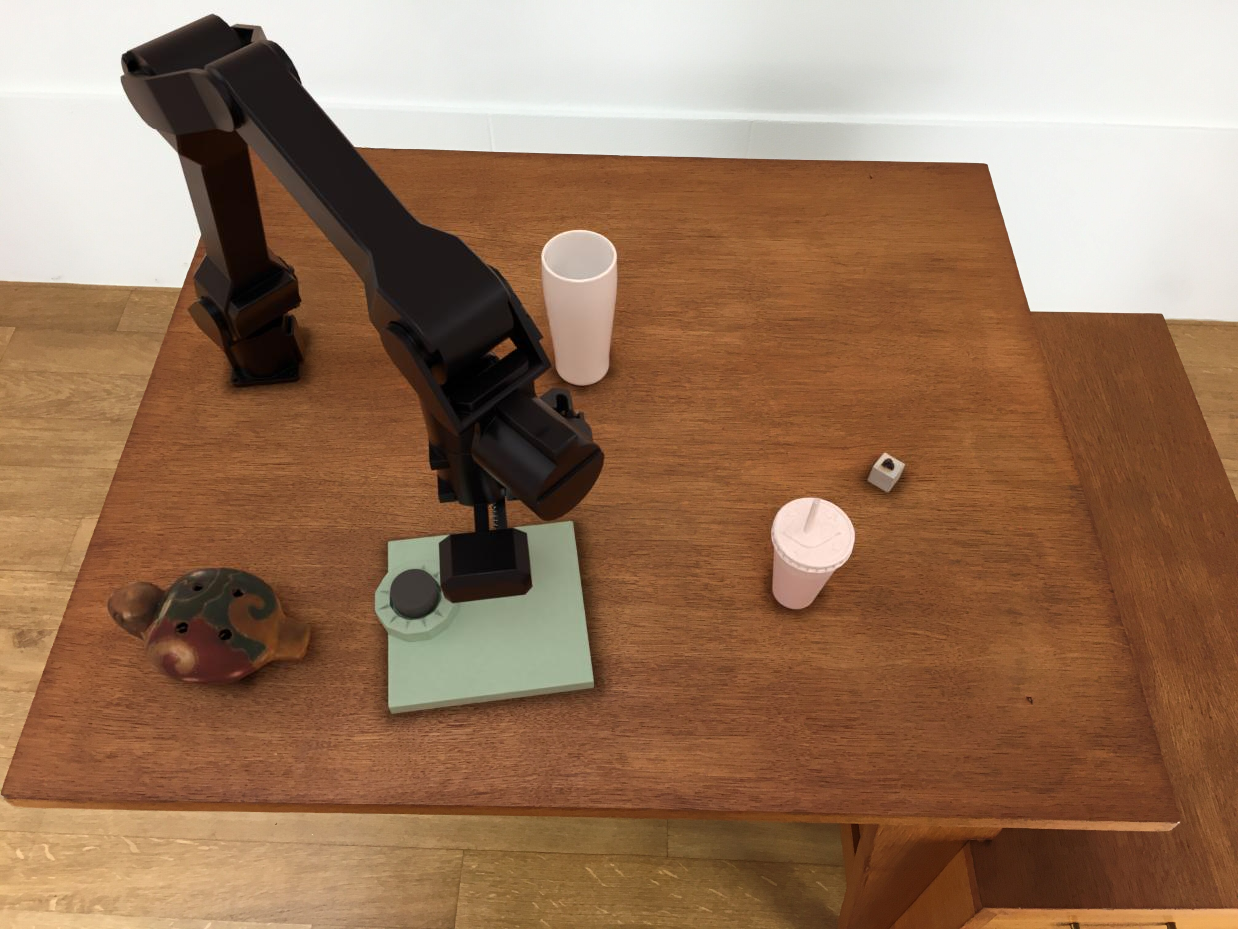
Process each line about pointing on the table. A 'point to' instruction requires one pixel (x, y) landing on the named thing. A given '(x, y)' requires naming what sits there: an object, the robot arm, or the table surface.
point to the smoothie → (808, 549)
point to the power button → (414, 593)
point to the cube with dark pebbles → (886, 472)
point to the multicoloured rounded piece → (209, 625)
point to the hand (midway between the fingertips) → (491, 538)
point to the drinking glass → (580, 302)
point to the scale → (488, 631)
